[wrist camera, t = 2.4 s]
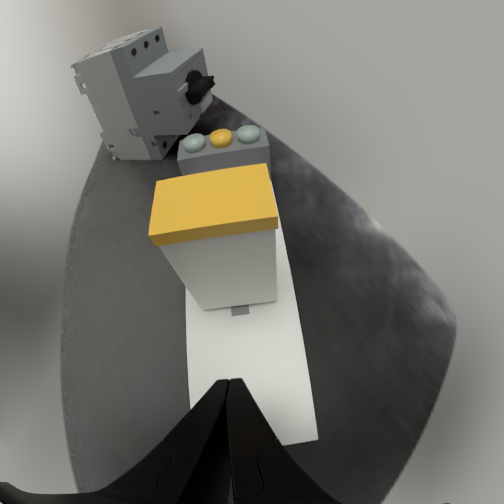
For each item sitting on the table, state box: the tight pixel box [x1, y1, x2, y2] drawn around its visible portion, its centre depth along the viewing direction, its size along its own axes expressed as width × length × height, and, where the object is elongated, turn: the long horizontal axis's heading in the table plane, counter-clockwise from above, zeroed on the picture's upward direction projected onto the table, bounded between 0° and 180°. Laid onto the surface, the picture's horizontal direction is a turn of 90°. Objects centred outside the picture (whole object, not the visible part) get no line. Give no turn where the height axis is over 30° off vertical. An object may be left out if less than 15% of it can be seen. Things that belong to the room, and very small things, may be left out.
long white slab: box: [177, 125, 318, 445], centre depth 18 cm, size 24×8×6 cm, turn 6°
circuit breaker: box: [71, 27, 215, 160], centre depth 26 cm, size 8×14×15 cm, turn 76°
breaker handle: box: [148, 163, 278, 310], centre depth 15 cm, size 3×5×9 cm, turn 96°
